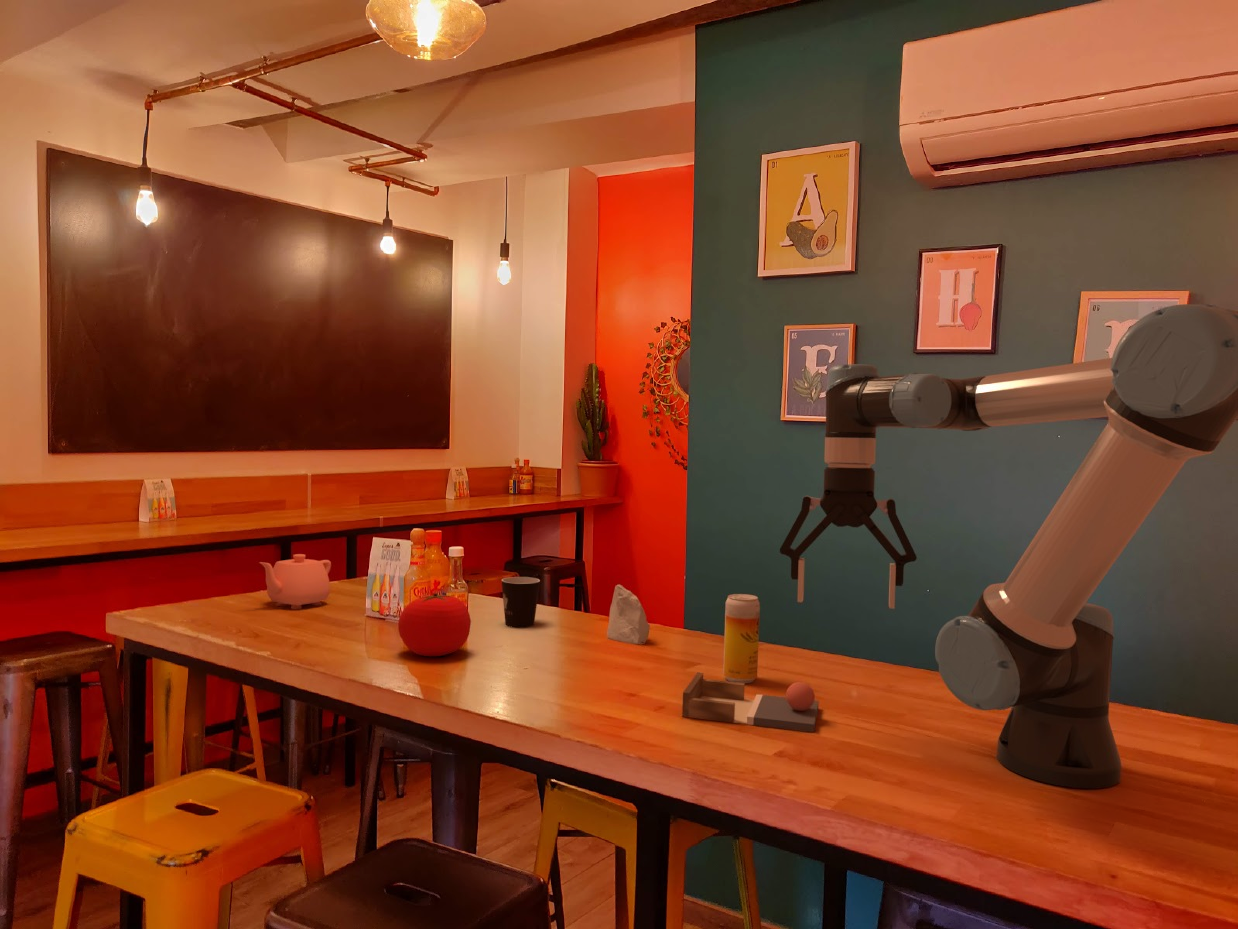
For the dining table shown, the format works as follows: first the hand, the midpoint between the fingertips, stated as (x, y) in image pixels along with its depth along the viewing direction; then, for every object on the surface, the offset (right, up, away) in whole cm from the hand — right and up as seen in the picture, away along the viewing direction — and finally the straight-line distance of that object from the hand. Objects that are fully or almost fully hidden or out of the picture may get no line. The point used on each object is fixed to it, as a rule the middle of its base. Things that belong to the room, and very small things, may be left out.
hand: (845, 604), depth 135 cm
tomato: (-71, -15, +35) cm, 80 cm away
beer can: (-13, -17, +23) cm, 32 cm away
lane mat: (-14, -18, +4) cm, 23 cm away
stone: (-33, -16, +50) cm, 62 cm away
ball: (-7, -15, +2) cm, 16 cm away
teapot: (-112, -13, +75) cm, 136 cm away
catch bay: (-20, -18, +6) cm, 27 cm away
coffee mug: (-57, -15, +63) cm, 86 cm away
